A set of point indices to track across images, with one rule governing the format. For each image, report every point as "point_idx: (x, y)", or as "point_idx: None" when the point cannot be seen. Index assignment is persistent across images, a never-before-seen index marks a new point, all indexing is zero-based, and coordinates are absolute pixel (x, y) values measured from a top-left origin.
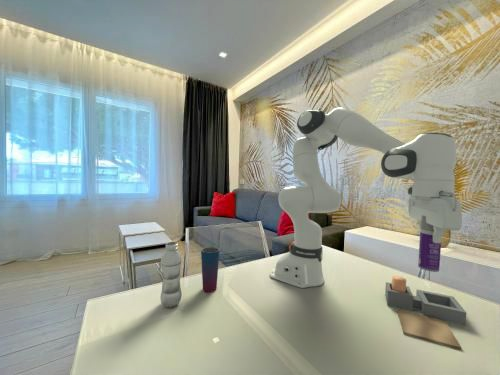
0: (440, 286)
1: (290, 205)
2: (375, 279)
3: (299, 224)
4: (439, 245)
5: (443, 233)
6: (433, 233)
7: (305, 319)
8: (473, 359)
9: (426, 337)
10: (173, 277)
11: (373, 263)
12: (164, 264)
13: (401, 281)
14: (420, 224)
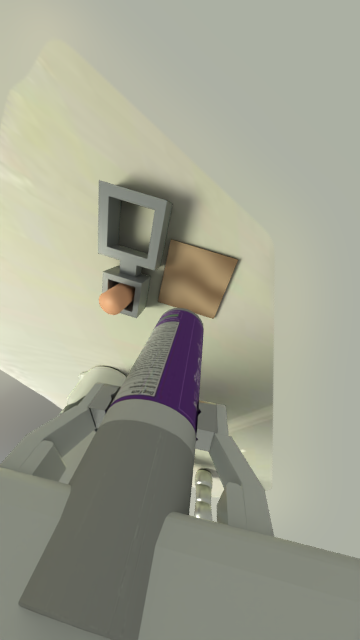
0: (4, 142)
1: None
2: (56, 289)
3: None
4: (195, 375)
5: (250, 468)
6: (218, 470)
7: (204, 400)
8: (255, 255)
9: (221, 296)
10: (209, 506)
11: None
12: None
13: (122, 304)
14: (65, 464)
